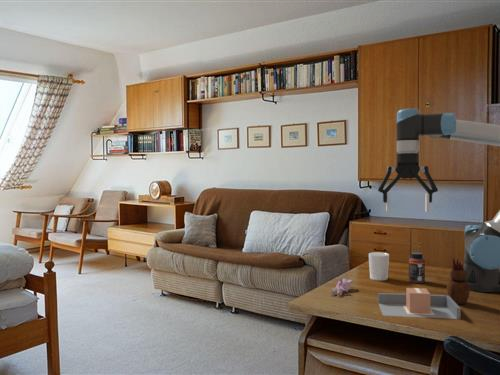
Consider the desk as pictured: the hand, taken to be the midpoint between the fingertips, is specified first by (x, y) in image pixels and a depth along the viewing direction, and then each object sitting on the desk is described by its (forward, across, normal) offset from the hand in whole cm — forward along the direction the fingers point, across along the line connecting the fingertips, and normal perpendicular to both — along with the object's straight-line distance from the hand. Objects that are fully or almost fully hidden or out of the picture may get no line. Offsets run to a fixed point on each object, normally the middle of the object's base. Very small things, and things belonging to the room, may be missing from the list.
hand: (407, 211), depth 161 cm
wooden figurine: (+29, -14, +13) cm, 35 cm away
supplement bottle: (+29, -6, -13) cm, 32 cm away
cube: (+28, +1, +23) cm, 37 cm away
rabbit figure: (+29, +23, +5) cm, 37 cm away
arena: (+29, +1, +23) cm, 37 cm away
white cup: (+29, +8, -16) cm, 34 cm away
